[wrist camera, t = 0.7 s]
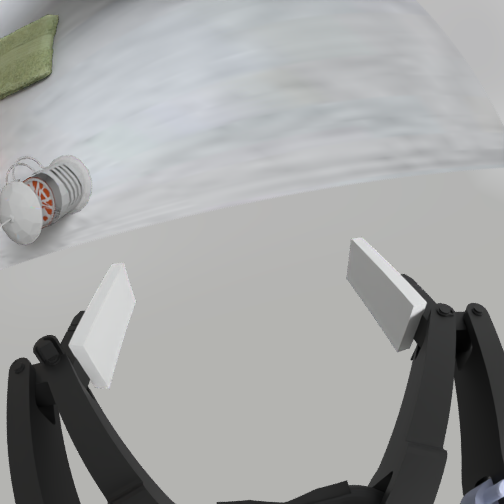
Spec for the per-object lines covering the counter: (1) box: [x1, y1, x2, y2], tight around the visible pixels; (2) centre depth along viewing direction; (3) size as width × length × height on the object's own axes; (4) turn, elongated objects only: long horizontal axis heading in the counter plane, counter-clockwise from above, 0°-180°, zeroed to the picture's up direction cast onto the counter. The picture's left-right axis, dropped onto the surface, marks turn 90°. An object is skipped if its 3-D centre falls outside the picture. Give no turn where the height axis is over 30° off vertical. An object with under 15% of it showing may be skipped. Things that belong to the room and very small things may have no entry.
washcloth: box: [0, 15, 59, 99], centre depth 23 cm, size 13×18×3 cm
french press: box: [0, 156, 92, 245], centre depth 25 cm, size 10×12×25 cm
